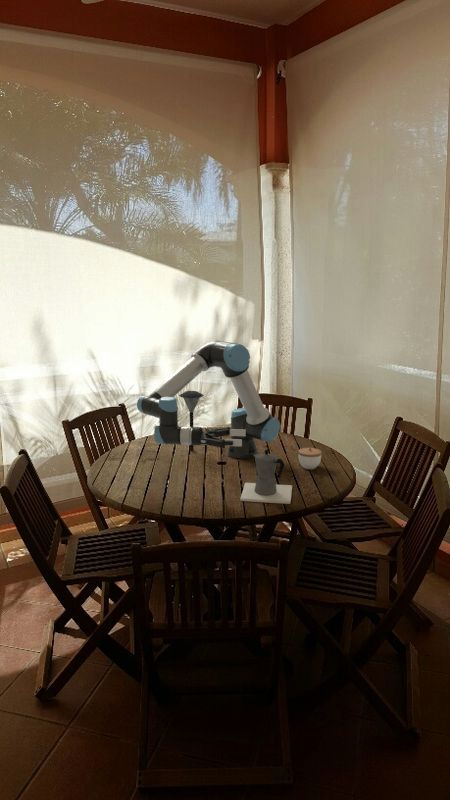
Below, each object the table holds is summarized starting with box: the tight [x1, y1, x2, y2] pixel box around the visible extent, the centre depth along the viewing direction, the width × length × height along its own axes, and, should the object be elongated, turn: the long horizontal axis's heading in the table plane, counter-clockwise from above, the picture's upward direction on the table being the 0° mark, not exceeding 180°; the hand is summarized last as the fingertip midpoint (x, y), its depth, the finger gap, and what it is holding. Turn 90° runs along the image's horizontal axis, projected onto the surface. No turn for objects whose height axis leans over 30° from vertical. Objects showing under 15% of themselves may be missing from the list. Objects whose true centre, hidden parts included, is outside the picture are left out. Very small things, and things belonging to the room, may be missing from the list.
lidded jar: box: [298, 447, 323, 470], centre depth 289 cm, size 11×11×9 cm
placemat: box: [239, 482, 293, 505], centre depth 256 cm, size 18×20×1 cm
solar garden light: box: [178, 390, 205, 452], centre depth 310 cm, size 12×12×30 cm
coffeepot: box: [253, 449, 285, 496], centre depth 254 cm, size 15×9×18 cm, turn 50°
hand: (243, 437), depth 252 cm, fingers open, 13 cm apart
